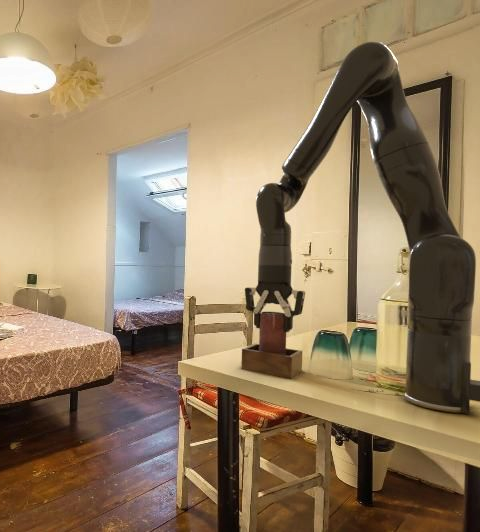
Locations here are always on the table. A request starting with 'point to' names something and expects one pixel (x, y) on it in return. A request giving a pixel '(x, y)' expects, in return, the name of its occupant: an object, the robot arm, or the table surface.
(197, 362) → the table surface
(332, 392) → the table surface
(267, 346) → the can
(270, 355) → the holder
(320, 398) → the table surface
